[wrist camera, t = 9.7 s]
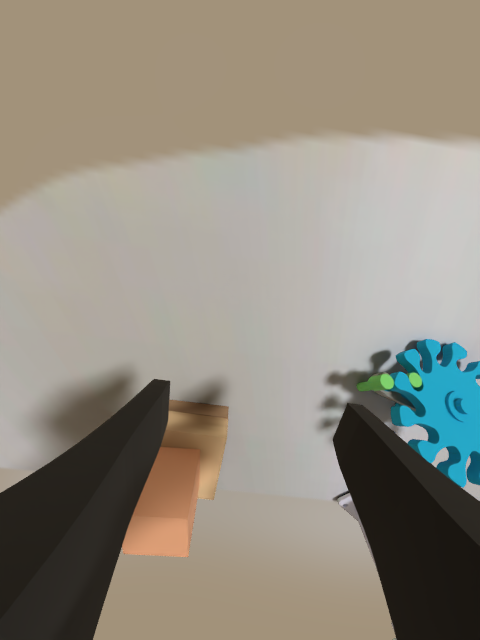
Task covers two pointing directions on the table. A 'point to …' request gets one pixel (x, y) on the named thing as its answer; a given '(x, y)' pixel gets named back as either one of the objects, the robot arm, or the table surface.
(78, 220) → the table surface
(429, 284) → the table surface
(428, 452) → the gear
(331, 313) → the table surface
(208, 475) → the tower top
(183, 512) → the block
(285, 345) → the table surface
